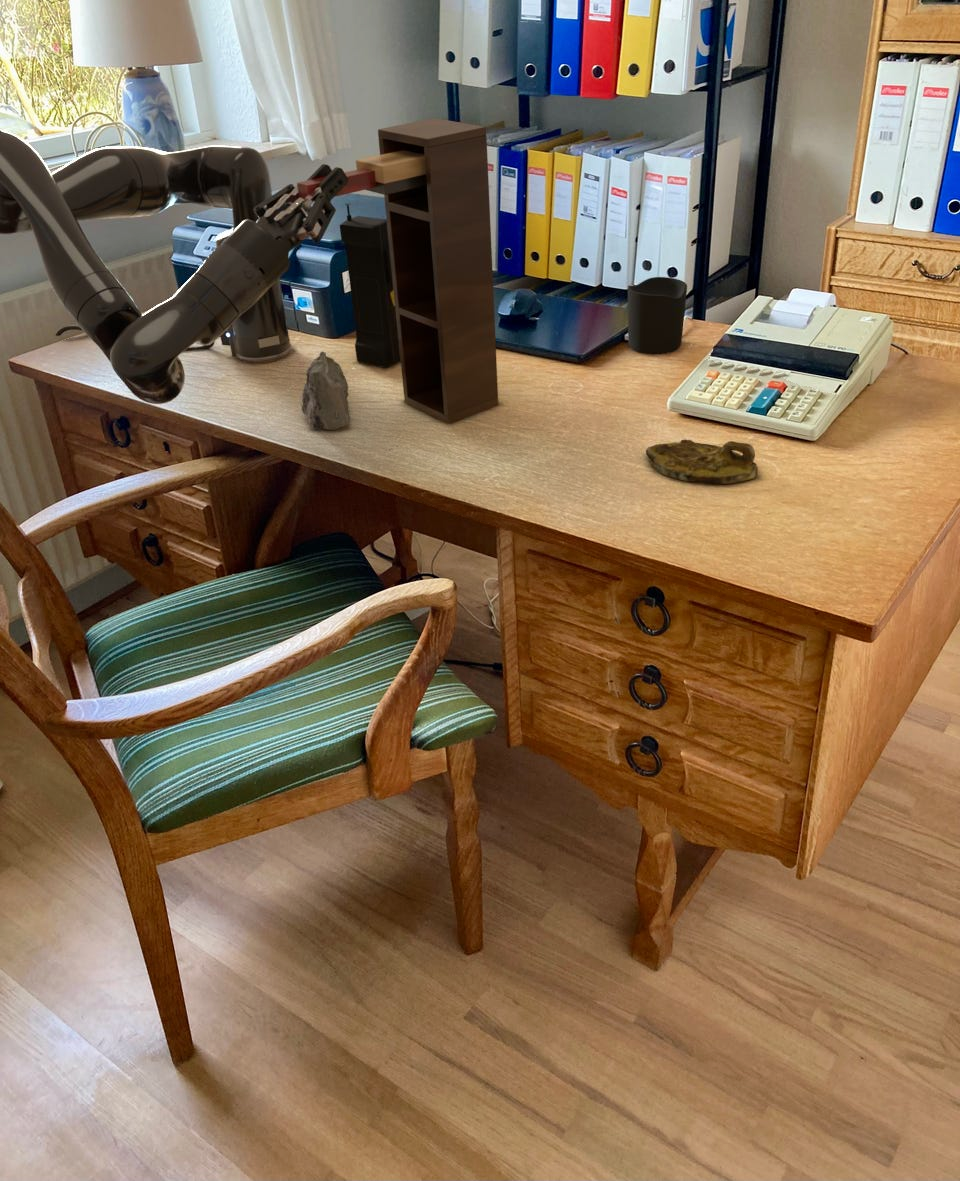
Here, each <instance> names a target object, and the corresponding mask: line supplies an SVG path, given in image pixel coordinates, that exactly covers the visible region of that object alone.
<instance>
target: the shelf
mask: <svg viewBox="0 0 960 1181" xmlns="http://www.w3.org/2000/svg"><path fill="white" fill-rule="evenodd" d="M377 137H378V147H379V148H378V150H379V155H382V154H387V153H392V152H397V151H401V150H405V151H410V152H415V153H420V154H424V155H425V168H426V181H427V185H426V186H422V187H418V188H413V189H409V190H405V191H401V192H396V193H392V194H388V195H383V199H384V208H385V209H384V211H385V219H386V220H387V230H388V240H389V250H390V260H391V270H392V281H393V291H394V301H395V311H396V321H397V331H398V341H399V351H400V361H399V362H400V371H401V380H402V392H403V400H404V404H407V405H409V406H411V407H413V408H414V409H417V410H419V411H421V412H423V413H425V414H428V415H430V416H432V417H433V418H436V419H437V420H439V421H441V422H444V423H445V424H448V425H450V424H453V423H456V422H458V421H460V420H463V419H465V418H467V417H470V416H472V415H476V414H478V413H480V412H483V411H485V410H488V409H491V408H493V407H497V406H498V405H499V387H498V385H499V384H498V362H497V342H496V322H495V321H496V319H495V318H496V317H495V297H494V295H495V294H494V278H493V277H494V275H493V250H492V229H491V228H492V226H491V207H490V206H491V205H490V184H489V182H490V181H489V159H488V157H489V156H488V138H487V127H486V126H483V125H477V124H473V123H472V124H471V123H466V122H460V121H453V120H447V119H441V118H437V117H435V118H429V119H428V118H427V119H423V120H419V121H413V122H408V123H404V124H399V125H393V126H388V127H383V128H378V129H377Z"/></svg>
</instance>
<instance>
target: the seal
mask: <svg viewBox="0 0 960 1181" xmlns="http://www.w3.org/2000/svg"><path fill="white" fill-rule="evenodd" d="M740 453H741V454H740ZM645 454H646V456H647V457H648V459H649V460H650V464H651V466H652V467H653V469H655V470H656V471H658V472H659V473H660V474H662V475H665V476H666V477H668V478H672V479H675V480H679V481H683V482H697V483H706V484H718V485H719V484H720V485H725V484H727V485H728V484H735V483H736V484H737V483H742V482H745V481H749V480H752V479H755V478H756V477H757V476H758V464H757V463H756V462H754V460H755V457H756V451H755V449H754V447H753V445H752V444H749V443H746V442H738V441H733V440H731V441H730V440H728V441H727V442H725V443H724V444H723V445H722V446H719V445H715V444H709V443H702V442H695V441H692V440H691V439H681V440H680V441H679V442H669V443H668V442H667V443H658V444H653V445H651V446H648V447H647V448H646V450H645Z"/></svg>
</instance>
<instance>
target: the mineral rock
mask: <svg viewBox="0 0 960 1181" xmlns="http://www.w3.org/2000/svg"><path fill="white" fill-rule="evenodd" d="M305 381H306V382H305V383H304V385H303V389H302V399H301V403H302V404H301V411H302V413H303V414H304V415H305V416H306V418H307V421H308V424H309V425H310V426H311V427H312V428H313V429H314V430H315V429H316V430H319V429H325V430H330V431H331V430H336V429H339V428H341V427H345V426H347V425H348V424H349V423H350V422H351V414H350V409H349V400H348V397H349V384H348V381H347V378H346V376H345V374H344V371H343V369H342V367H341V365H340V364H339V363H338V362H336V361H335V359H333V358H332V357H329V356H327V352H324V351H320V353H319V356H317V357H316V358H314V359H313V360H312V362H311V363H310V365H309V367H308V368H307V370H306V378H305Z"/></svg>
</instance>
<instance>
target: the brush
mask: <svg viewBox="0 0 960 1181" xmlns="http://www.w3.org/2000/svg"><path fill="white" fill-rule="evenodd" d="M355 166H356V169H354V170H348V171H344V173H345V174H346V176H347V177H348V183H347V184H346V185H345V186H344V187H343V188H342V189H341V190H340V191H339V192H338V194H337V195H336V196H335V197H340V196H343V195H344V196H345V195H348V194H352V193H357V192H361V191H367V192H368V191H369V192H372V193H376V194H380V195H383V196H384V195H388V194H392V193H396V192H401V191H405V190H409V189H413V188H418V187H422V186H426V185H427V181H426V168H425V155H424V154H420V153H415V152H410V151H405V150H401V151H397V152H392V153H387V154H382V155H380V154H378V155H373V156H369V157H364V158H359V159H356V160H355ZM326 177H327V176H326ZM326 177H321V178H317V179H312V180H308V179H307V180H303V181H299V182H298V181H297V182H296V186H297V187H298V194H299V198H300V197H302V198H305V197H307V196H308V195H309V194H310V193H311V192H312V191H313V190H314V189H315V188H317V187H318V185H319V184H320V183H321V182H322V181H323V180H324V179H325V178H326ZM315 200H316V199H315ZM315 200H314V201H313V203H314V202H315Z"/></svg>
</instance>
